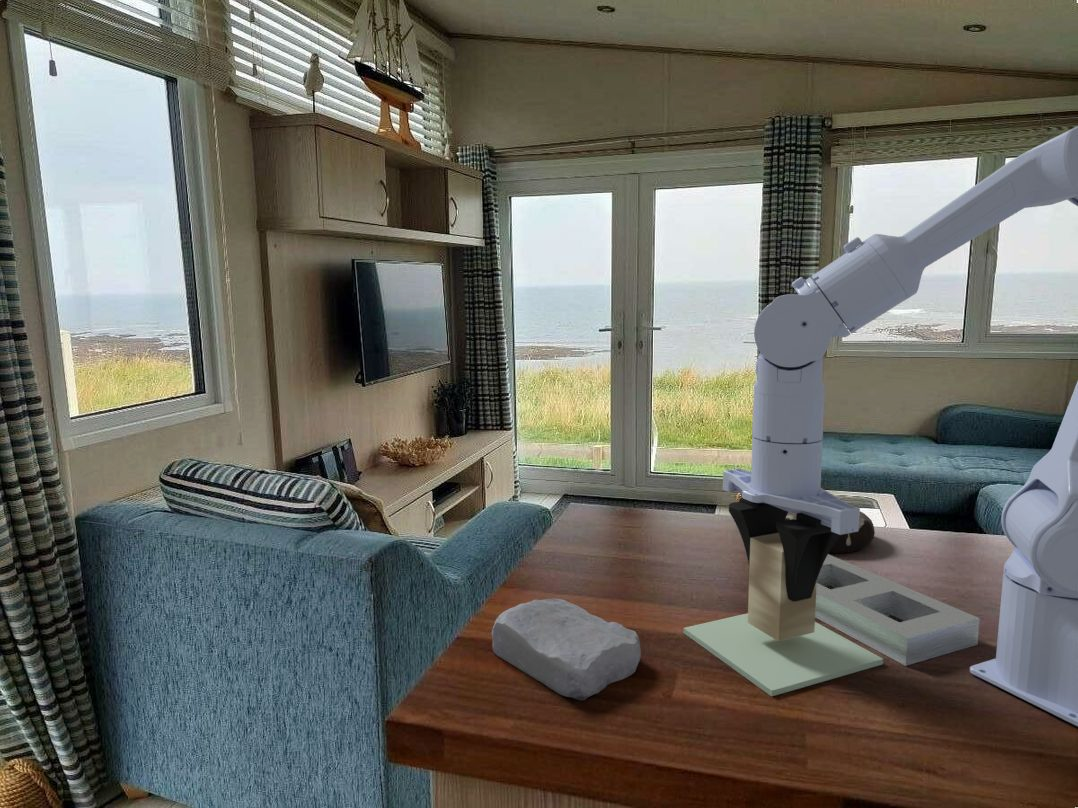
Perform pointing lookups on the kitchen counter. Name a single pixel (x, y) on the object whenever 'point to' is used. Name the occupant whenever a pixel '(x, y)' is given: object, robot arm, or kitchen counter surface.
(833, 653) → the mat
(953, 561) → the kitchen counter surface
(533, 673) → the stone block
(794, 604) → the peg
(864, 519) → the donut
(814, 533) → the robot arm
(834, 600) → the rail
